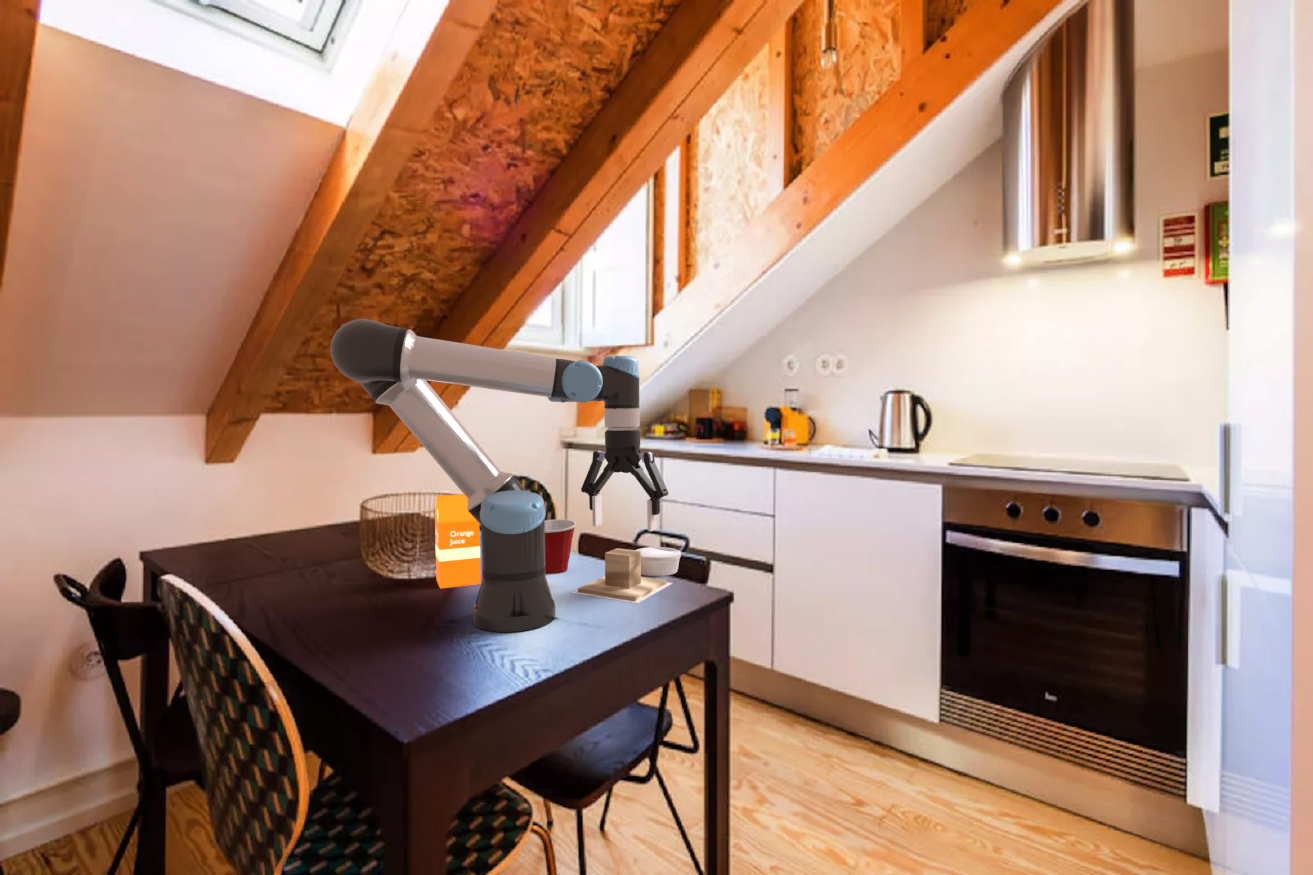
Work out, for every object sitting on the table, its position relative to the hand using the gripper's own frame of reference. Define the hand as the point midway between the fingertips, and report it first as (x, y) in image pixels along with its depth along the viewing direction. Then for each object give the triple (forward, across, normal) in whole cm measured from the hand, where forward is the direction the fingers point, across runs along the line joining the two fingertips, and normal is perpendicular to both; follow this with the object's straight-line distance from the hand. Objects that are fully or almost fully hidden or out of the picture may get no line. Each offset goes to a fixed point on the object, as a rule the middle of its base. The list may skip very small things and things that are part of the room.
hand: (624, 527), depth 140 cm
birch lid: (+13, 0, 0) cm, 13 cm away
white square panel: (+14, 0, 0) cm, 14 cm away
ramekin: (+14, 0, -16) cm, 21 cm away
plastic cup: (+14, +22, -5) cm, 27 cm away
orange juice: (+14, +37, +11) cm, 41 cm away
